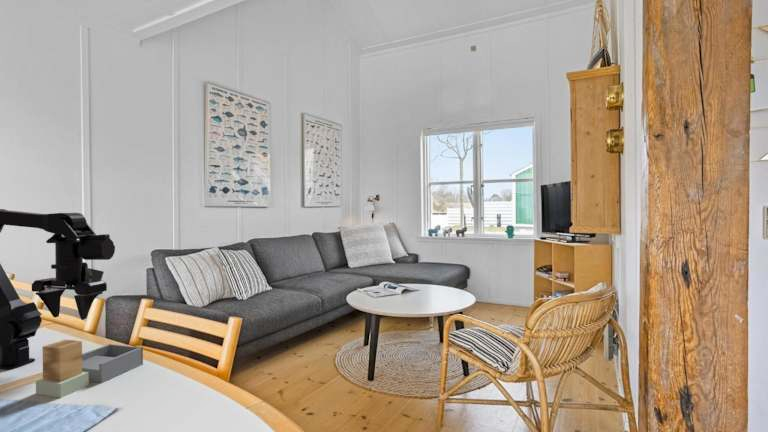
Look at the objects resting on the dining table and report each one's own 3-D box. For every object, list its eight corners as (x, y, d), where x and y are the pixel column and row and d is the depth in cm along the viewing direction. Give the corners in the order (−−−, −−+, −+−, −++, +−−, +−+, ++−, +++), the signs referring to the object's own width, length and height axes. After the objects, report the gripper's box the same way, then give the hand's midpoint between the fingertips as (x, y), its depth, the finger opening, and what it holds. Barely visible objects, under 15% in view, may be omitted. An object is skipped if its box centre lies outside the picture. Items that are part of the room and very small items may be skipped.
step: (35, 394, 90) (35, 380, 90) (64, 382, 97) (64, 369, 97) (60, 397, 89) (60, 384, 89) (88, 385, 95) (88, 372, 95)
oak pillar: (42, 379, 91) (42, 346, 91) (65, 371, 96) (64, 339, 96) (60, 382, 90) (60, 348, 90) (82, 373, 95) (81, 341, 94)
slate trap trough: (65, 378, 99) (65, 359, 99) (109, 360, 111) (109, 343, 110) (102, 382, 96) (101, 364, 96) (142, 364, 108) (142, 347, 108)
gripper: (124, 257, 114) (124, 312, 114) (71, 255, 118) (71, 308, 118) (86, 262, 103) (87, 323, 103) (29, 260, 107) (30, 318, 108)
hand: (69, 318), depth 108 cm, fingers open, 9 cm apart
